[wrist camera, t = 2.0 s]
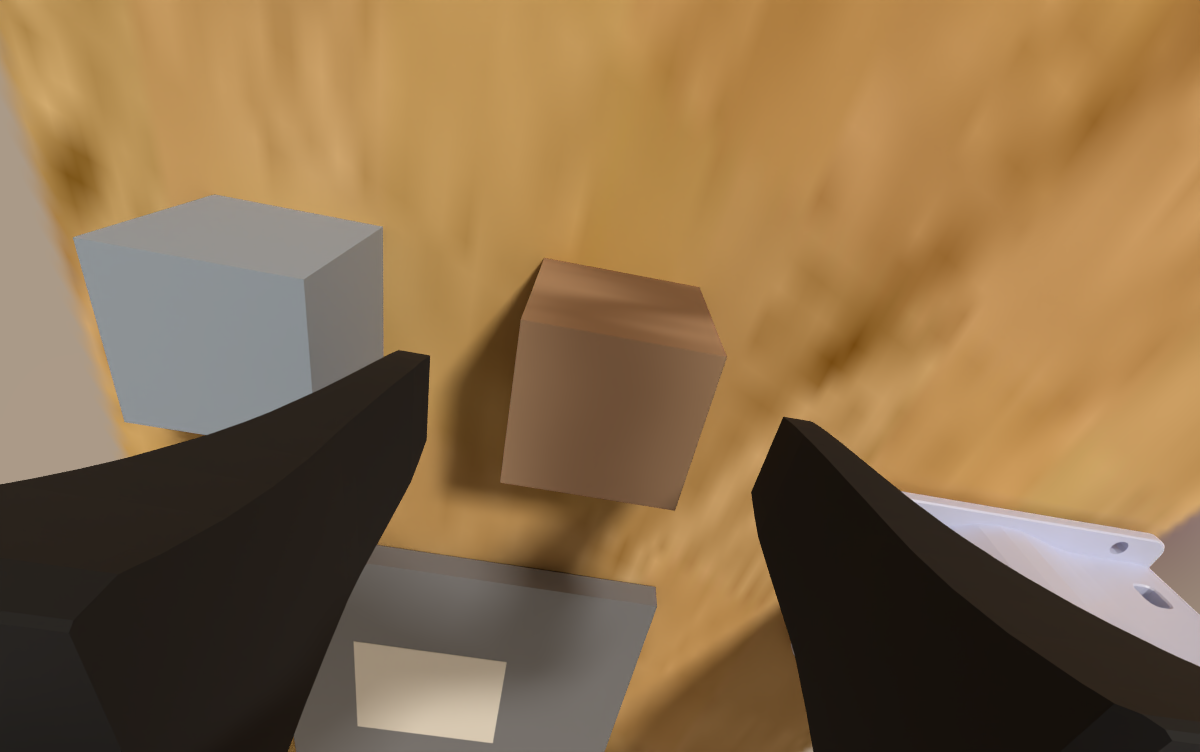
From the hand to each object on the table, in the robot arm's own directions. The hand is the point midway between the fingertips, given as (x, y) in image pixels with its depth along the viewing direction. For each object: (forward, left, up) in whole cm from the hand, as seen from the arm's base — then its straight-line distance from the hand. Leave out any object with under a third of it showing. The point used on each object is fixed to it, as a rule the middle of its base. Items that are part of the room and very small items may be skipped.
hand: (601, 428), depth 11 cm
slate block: (+8, 0, -4) cm, 9 cm away
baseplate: (+3, +17, -4) cm, 18 cm away
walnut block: (0, 0, -4) cm, 4 cm away
